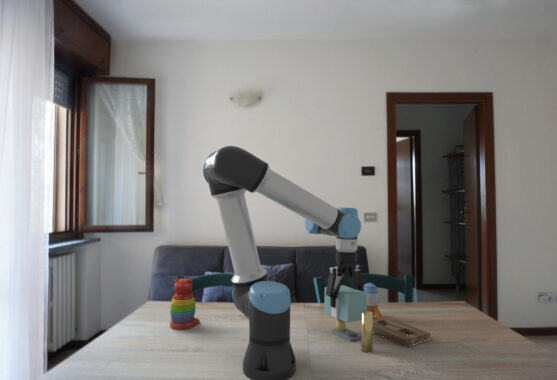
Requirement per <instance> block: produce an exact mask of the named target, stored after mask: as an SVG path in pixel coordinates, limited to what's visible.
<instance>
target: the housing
mask: <svg viewBox="0 0 557 380" xmlns="http://www.w3.org/2000/svg"><path fill="white" fill-rule="evenodd" d="M326 289H327V286H325V287H324V300H323V302H324V304H323V305H324V306H323V307H324V308H323V313H325V314H327V315H330V316H331V306H330V297H329V296H327V295H326ZM336 298H338V319H341V320H343V321H345V322H346V324H347V323H354V322H357V321H358V322H359V321H361V312H362V311H367V293H366V292H363V291H360V290H356V289H353V288H352V287H351V286H346V285H344V284H341V287H340V290H339V292H338V295H337V297H336Z"/></svg>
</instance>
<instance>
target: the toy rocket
mask: <svg viewBox="0 0 557 380" xmlns="http://www.w3.org/2000/svg"><path fill="white" fill-rule="evenodd" d="M363 286H364V292H366V293H367V311H370V312H372V313H373V317H374V316H375V319H377V318H381V317H382V312H381V310H380V309H379V308H378V306H379V301H380V300H379V299H380V296H379V295H380V294H379V290H378V288H377V285H375V284H374V283H372V282H367V283H365V284H363Z"/></svg>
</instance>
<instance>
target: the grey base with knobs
mask: <svg viewBox="0 0 557 380" xmlns="http://www.w3.org/2000/svg"><path fill="white" fill-rule="evenodd" d="M346 324H347V322H345V321H343V320H341V319H338V318H336V317H335V328H333V329H331V333H332V334H334V335H335V336H338V337H339V338H342V339H343V340H346V341H348V342H352V340H354V341H357V340H361V339H360V338H361V334H359V333H358V332H355V331H353V330H351V329H349V328H346ZM356 339H357V340H356Z"/></svg>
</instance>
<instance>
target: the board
mask: <svg viewBox="0 0 557 380" xmlns="http://www.w3.org/2000/svg"><path fill="white" fill-rule="evenodd" d="M373 332H374V333H373V334H375V333H377V334H379V335H381V336H380V337H382V336H384V337H386V338H388V339H387V340H389V339H391V340H393V341H395V342H394V343H396V342H398V343H400V344H402V345H401V346H403V345H405V346H410V345H413V344H416V343H418V342H421V341H424V340H427V339H432V338H431V335H432V334H431V332H429V331H426V330H424V329H421V328H419V327H416V326H413V325H410V324H408V323H405V322H403V321H399V320H396V319H394V318H391V317H388V316H381V318H373ZM377 334H376V335H377ZM407 334H408V335H407ZM379 335H378V336H379ZM384 337H383V338H384ZM386 338H385V339H386ZM391 340H390V341H391ZM393 341H392V342H393ZM398 343H397V344H398ZM400 344H399V345H400ZM405 346H404V347H405ZM413 346H414V345H413ZM410 347H411V346H410Z"/></svg>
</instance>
